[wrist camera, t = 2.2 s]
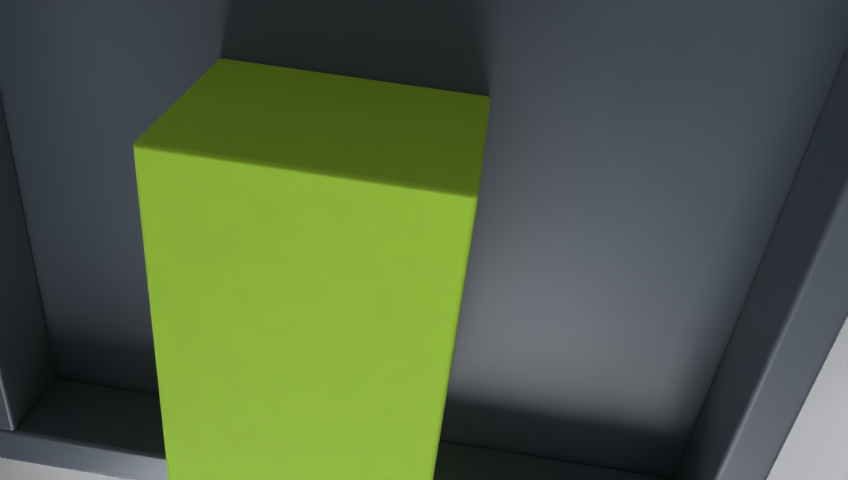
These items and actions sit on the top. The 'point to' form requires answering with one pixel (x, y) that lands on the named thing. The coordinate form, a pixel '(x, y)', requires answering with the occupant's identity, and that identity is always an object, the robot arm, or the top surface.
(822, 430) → the top surface
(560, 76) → the tray
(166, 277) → the sponge
